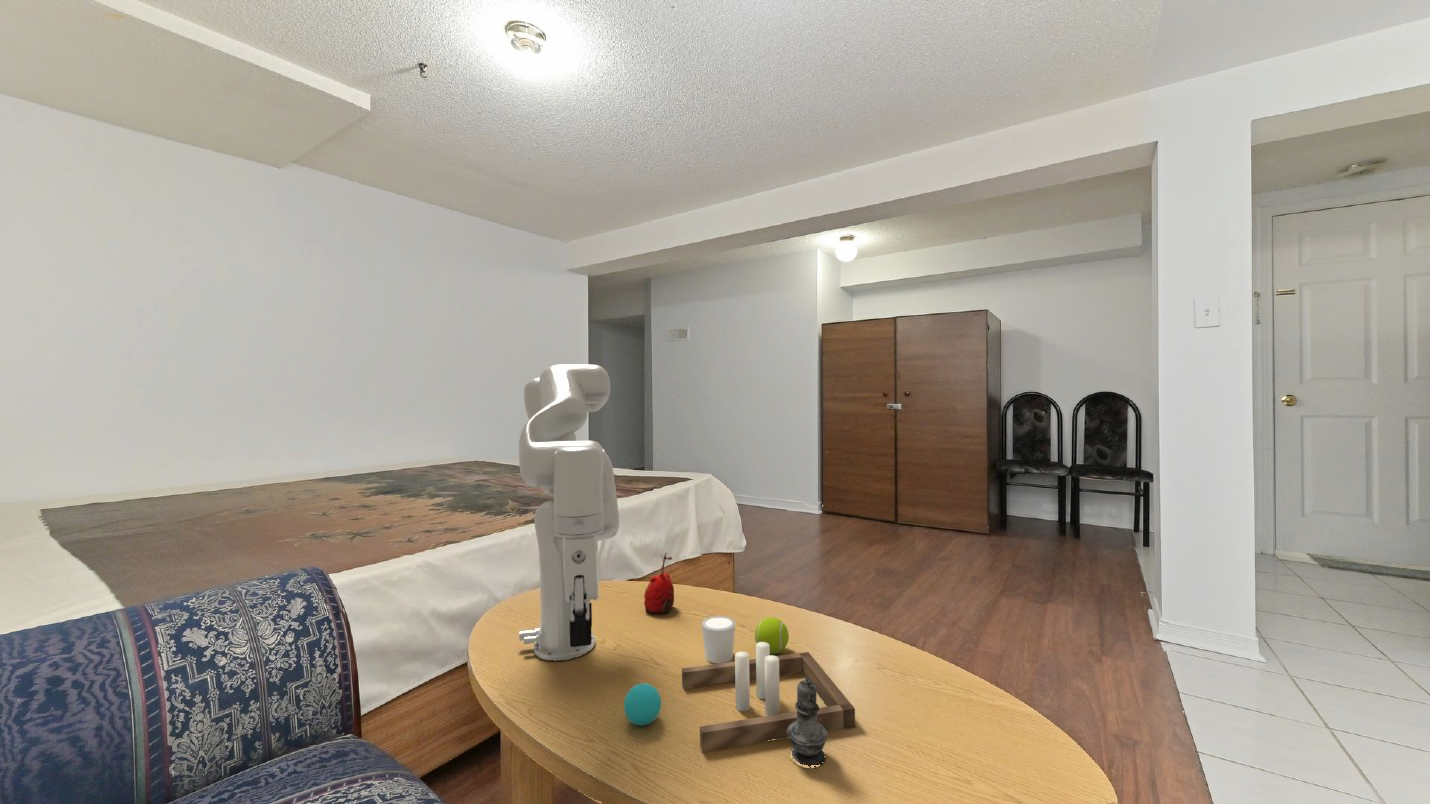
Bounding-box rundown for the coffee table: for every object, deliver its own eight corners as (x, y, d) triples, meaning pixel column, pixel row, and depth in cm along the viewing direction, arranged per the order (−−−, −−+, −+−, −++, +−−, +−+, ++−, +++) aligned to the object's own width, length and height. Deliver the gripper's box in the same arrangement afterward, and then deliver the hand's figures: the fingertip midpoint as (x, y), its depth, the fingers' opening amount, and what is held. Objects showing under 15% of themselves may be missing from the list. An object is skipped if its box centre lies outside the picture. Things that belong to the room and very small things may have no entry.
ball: (625, 736, 83) (624, 698, 83) (623, 714, 89) (622, 678, 89) (663, 730, 84) (662, 693, 84) (659, 708, 90) (658, 674, 90)
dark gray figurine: (797, 774, 74) (796, 690, 74) (781, 747, 80) (780, 669, 80) (835, 765, 76) (834, 682, 76) (816, 739, 82) (815, 663, 82)
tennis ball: (751, 658, 107) (750, 623, 107) (759, 642, 114) (759, 610, 114) (785, 663, 105) (784, 628, 105) (791, 647, 112) (791, 614, 111)
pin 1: (758, 700, 92) (758, 649, 92) (754, 692, 95) (754, 642, 95) (772, 698, 93) (771, 647, 93) (767, 690, 95) (767, 641, 95)
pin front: (737, 712, 89) (737, 659, 89) (734, 704, 91) (733, 652, 91) (751, 710, 90) (750, 657, 89) (747, 702, 92) (746, 650, 92)
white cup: (732, 666, 104) (732, 631, 104) (698, 663, 105) (698, 628, 105) (738, 649, 111) (737, 616, 111) (706, 647, 112) (705, 614, 112)
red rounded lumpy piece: (664, 602, 137) (663, 544, 136) (680, 610, 131) (679, 550, 131) (639, 610, 132) (638, 550, 131) (654, 619, 126) (653, 556, 126)
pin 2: (768, 717, 88) (767, 663, 87) (763, 708, 90) (762, 656, 90) (781, 715, 88) (781, 661, 88) (776, 706, 90) (776, 654, 90)
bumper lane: (701, 752, 79) (701, 732, 79) (682, 684, 98) (681, 668, 98) (855, 727, 85) (854, 708, 85) (808, 667, 103) (808, 652, 103)
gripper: (604, 535, 77) (606, 659, 77) (602, 510, 93) (604, 612, 94) (550, 539, 75) (552, 666, 75) (558, 513, 92) (560, 617, 92)
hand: (581, 635), depth 84 cm, fingers open, 5 cm apart
